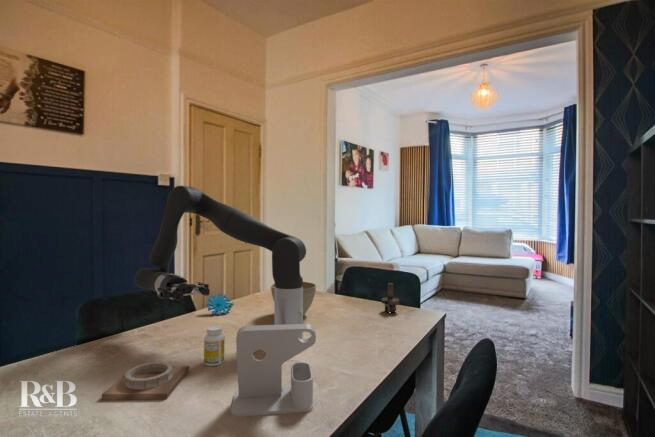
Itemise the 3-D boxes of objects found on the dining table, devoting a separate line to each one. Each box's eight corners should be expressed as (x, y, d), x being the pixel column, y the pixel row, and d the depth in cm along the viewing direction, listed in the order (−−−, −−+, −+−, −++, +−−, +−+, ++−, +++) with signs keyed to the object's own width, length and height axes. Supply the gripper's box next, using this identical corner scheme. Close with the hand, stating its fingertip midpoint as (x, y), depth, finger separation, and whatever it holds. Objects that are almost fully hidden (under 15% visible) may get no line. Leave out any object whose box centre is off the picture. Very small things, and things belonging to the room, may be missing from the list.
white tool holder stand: (311, 388, 83) (311, 312, 83) (315, 411, 73) (316, 325, 73) (235, 392, 81) (236, 314, 80) (229, 417, 71) (229, 328, 70)
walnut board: (189, 370, 92) (189, 358, 91) (166, 398, 78) (166, 384, 78) (134, 371, 91) (134, 358, 91) (101, 399, 77) (101, 385, 77)
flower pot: (324, 313, 145) (324, 284, 145) (297, 324, 130) (297, 292, 130) (289, 306, 155) (290, 279, 155) (261, 316, 140) (261, 286, 139)
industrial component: (390, 308, 154) (390, 281, 153) (403, 312, 148) (403, 283, 148) (374, 312, 148) (375, 283, 148) (387, 316, 142) (388, 286, 142)
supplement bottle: (210, 368, 93) (210, 332, 93) (200, 362, 96) (200, 328, 96) (228, 362, 97) (228, 327, 97) (217, 356, 101) (217, 323, 100)
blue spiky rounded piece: (206, 313, 138) (207, 291, 145) (203, 321, 142) (204, 299, 148) (235, 314, 143) (234, 293, 149) (231, 321, 146) (231, 300, 153)
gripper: (148, 277, 110) (170, 285, 99) (192, 272, 120) (216, 278, 109) (148, 301, 110) (170, 311, 99) (191, 293, 120) (216, 302, 109)
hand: (194, 294), depth 104 cm, fingers open, 8 cm apart
